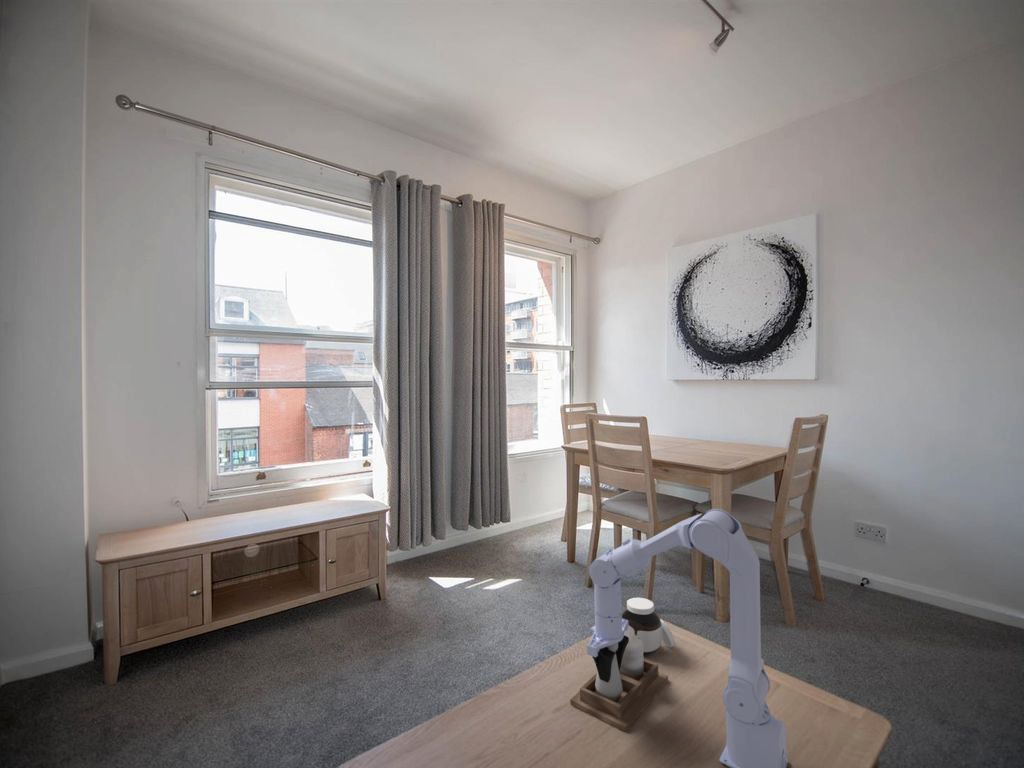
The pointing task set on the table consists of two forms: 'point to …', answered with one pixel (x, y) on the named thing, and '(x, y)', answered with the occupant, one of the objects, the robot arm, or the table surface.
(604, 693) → the salt shaker
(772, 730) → the robot arm
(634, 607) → the spread jar
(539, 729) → the table surface
